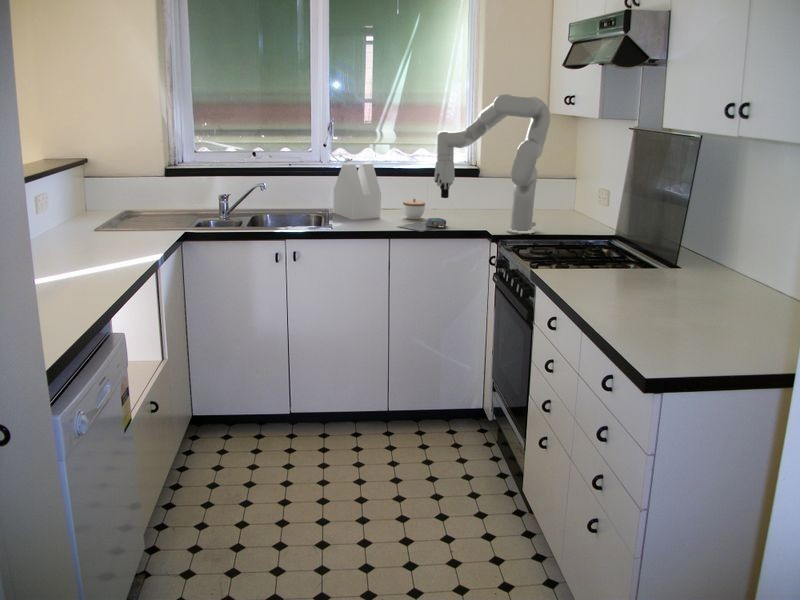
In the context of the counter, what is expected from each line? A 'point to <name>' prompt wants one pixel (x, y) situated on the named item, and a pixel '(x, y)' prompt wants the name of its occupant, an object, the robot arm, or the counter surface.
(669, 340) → the counter surface
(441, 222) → the blue clover wallet
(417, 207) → the lidded jar
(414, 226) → the slate board
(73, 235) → the counter surface
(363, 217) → the grey notched block
